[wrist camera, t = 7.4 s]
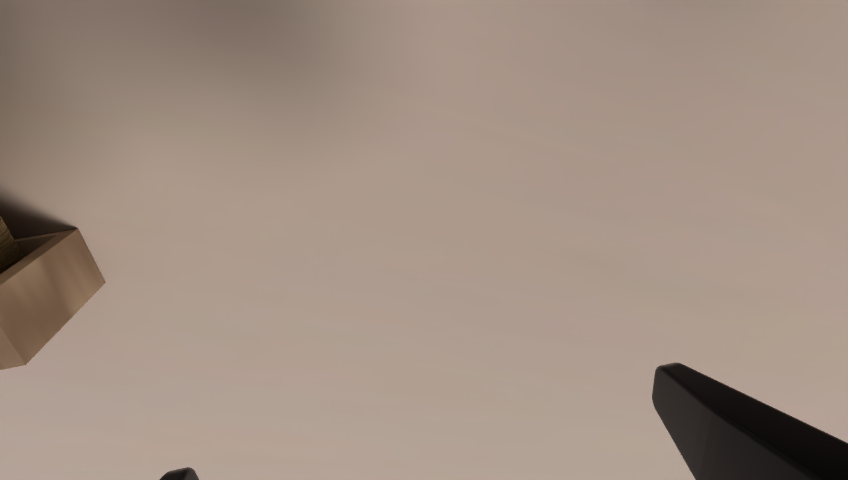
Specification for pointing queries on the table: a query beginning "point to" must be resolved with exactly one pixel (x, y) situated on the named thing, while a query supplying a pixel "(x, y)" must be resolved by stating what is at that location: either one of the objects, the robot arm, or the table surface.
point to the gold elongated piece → (8, 249)
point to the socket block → (43, 292)
